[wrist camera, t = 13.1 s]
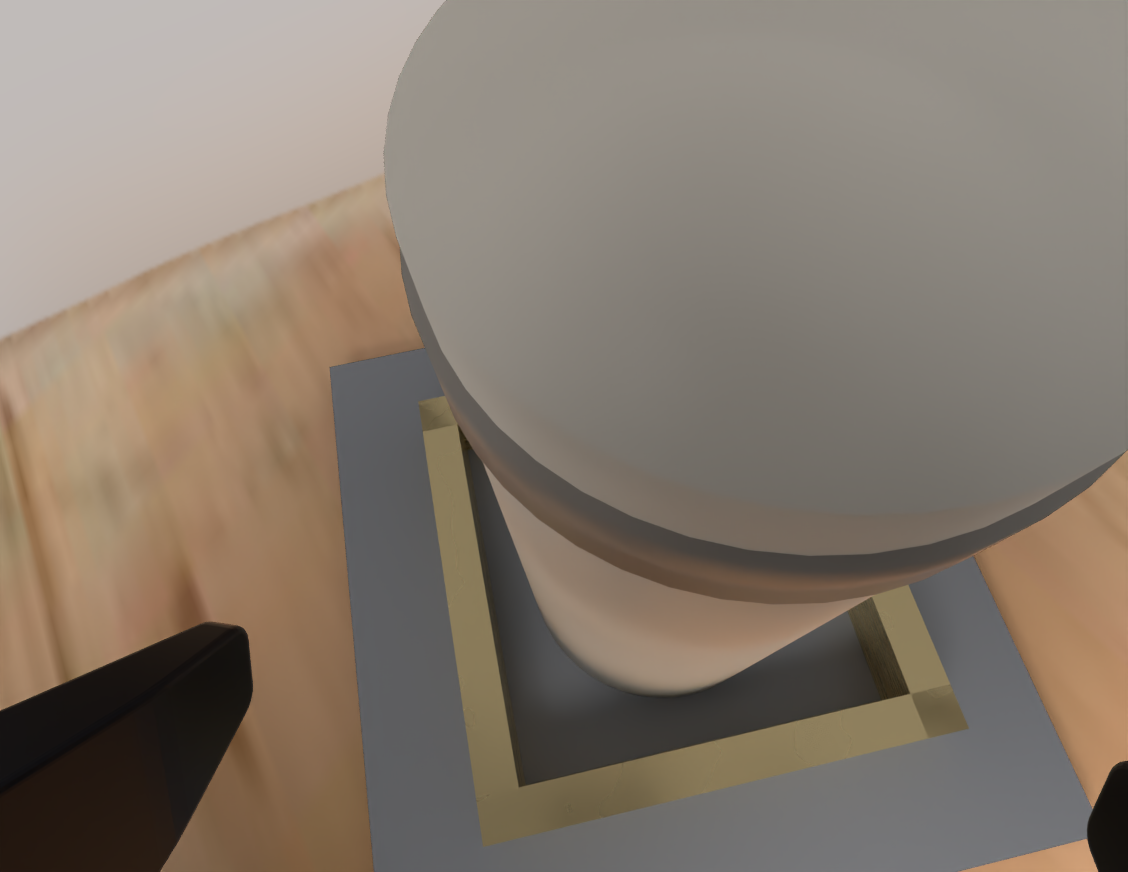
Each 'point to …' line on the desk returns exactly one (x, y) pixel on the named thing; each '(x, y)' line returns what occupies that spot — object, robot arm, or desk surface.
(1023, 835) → the collar base
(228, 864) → the desk surface
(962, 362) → the lidded cream canister
